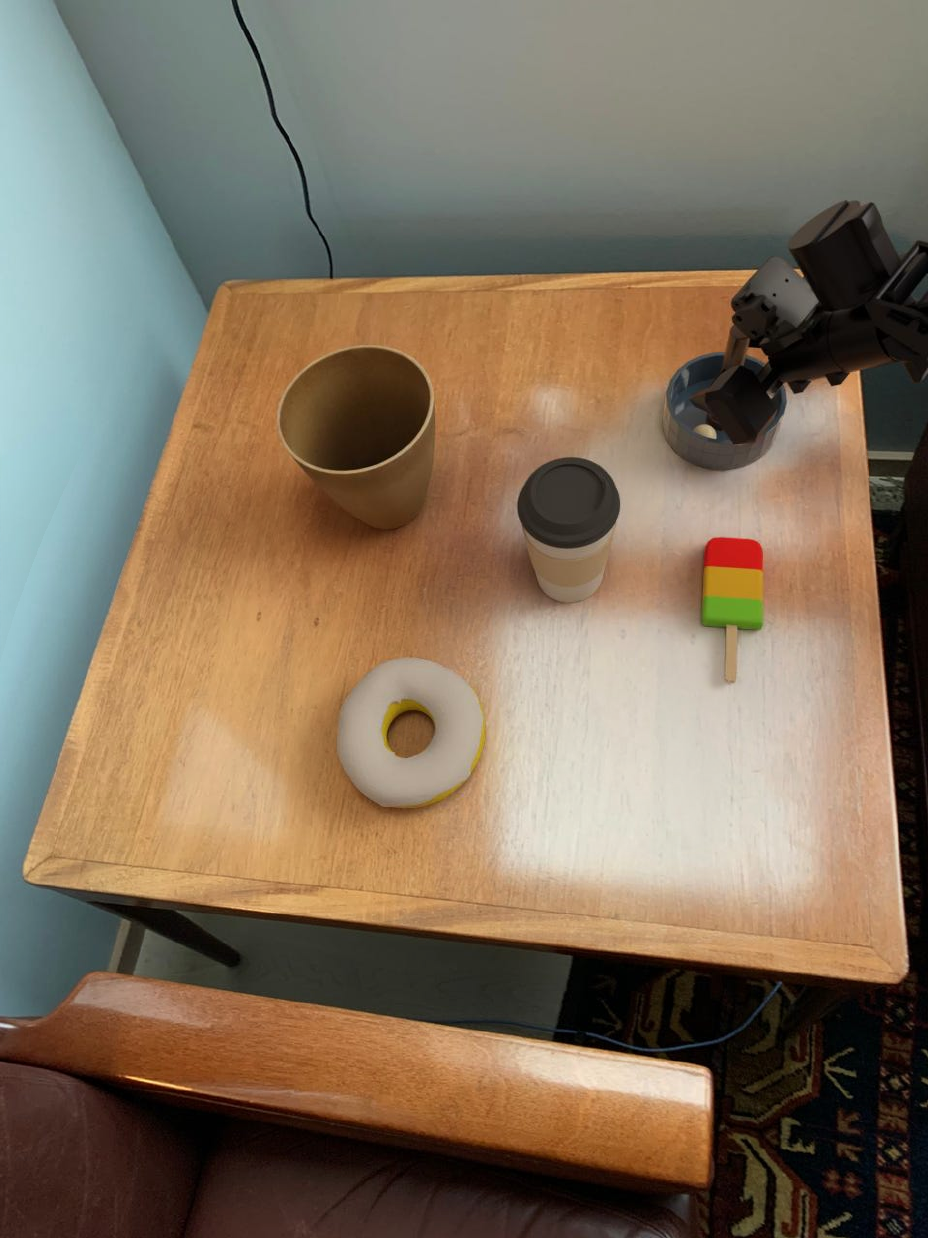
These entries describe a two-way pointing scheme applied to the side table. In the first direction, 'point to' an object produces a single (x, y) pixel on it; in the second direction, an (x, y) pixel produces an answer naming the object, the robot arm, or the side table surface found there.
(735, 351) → the stirring stick
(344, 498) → the plant pot
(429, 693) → the donut
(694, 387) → the bowl
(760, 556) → the popsicle
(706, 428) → the ball
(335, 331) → the side table surface
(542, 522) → the coffee cup
